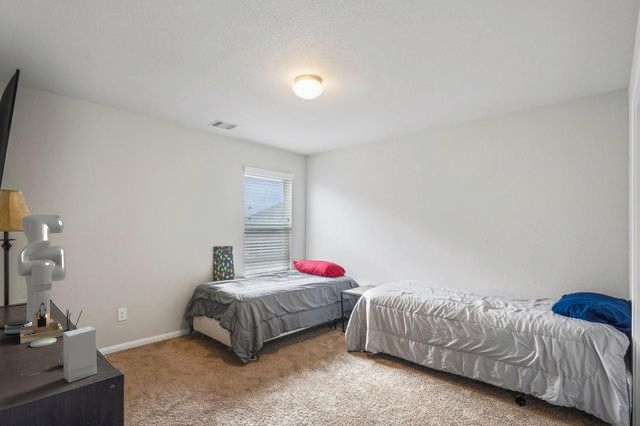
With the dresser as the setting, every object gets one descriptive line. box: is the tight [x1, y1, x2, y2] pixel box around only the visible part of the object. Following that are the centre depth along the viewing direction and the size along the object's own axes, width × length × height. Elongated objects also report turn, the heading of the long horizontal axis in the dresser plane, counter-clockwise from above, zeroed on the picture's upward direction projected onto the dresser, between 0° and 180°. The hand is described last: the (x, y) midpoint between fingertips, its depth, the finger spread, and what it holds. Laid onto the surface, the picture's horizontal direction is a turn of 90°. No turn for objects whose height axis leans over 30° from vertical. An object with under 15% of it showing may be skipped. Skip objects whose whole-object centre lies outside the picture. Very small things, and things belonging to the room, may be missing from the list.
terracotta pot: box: [33, 310, 51, 334], centre depth 160 cm, size 6×6×12 cm
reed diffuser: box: [58, 309, 83, 366], centre depth 125 cm, size 10×7×20 cm
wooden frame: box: [19, 320, 64, 345], centre depth 159 cm, size 16×15×4 cm
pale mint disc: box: [29, 337, 57, 348], centre depth 148 cm, size 9×9×1 cm
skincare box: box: [62, 326, 98, 383], centre depth 114 cm, size 8×7×16 cm
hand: (41, 324), depth 160 cm, fingers closed on terracotta pot, 6 cm apart
